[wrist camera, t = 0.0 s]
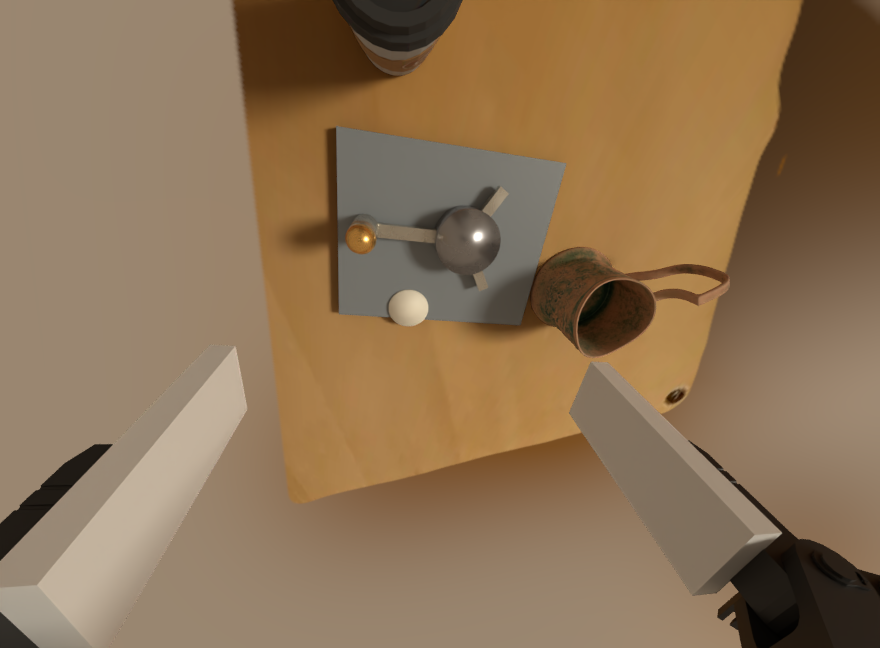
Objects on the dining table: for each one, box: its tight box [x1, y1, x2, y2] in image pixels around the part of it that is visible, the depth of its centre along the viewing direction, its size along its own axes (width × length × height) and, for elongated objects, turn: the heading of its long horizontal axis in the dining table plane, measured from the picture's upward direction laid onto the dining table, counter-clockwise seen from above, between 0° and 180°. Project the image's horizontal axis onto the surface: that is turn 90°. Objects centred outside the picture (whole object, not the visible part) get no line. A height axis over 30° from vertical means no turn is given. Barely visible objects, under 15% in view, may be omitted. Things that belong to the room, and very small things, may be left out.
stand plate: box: [336, 126, 566, 326], centre depth 37 cm, size 21×24×2 cm
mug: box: [530, 247, 730, 358], centre depth 37 cm, size 12×18×12 cm, turn 115°
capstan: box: [345, 186, 509, 291], centre depth 32 cm, size 16×12×7 cm
